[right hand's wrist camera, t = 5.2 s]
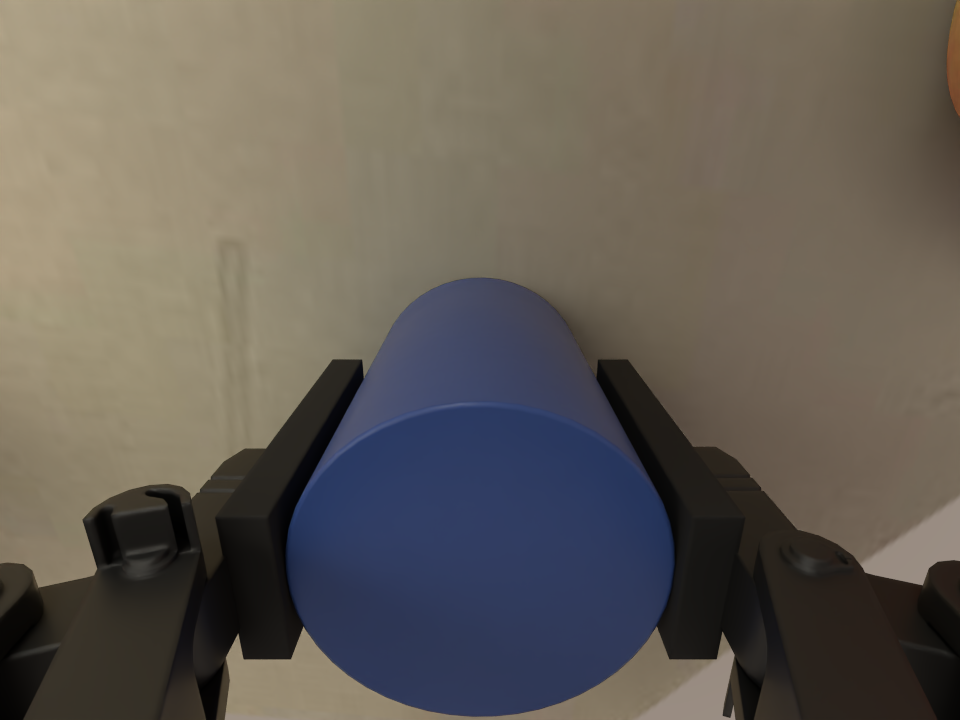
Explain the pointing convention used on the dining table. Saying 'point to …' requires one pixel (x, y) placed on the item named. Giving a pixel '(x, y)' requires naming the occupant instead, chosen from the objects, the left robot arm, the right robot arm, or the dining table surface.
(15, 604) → the right robot arm
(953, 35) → the apple
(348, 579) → the canister
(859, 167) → the dining table surface
